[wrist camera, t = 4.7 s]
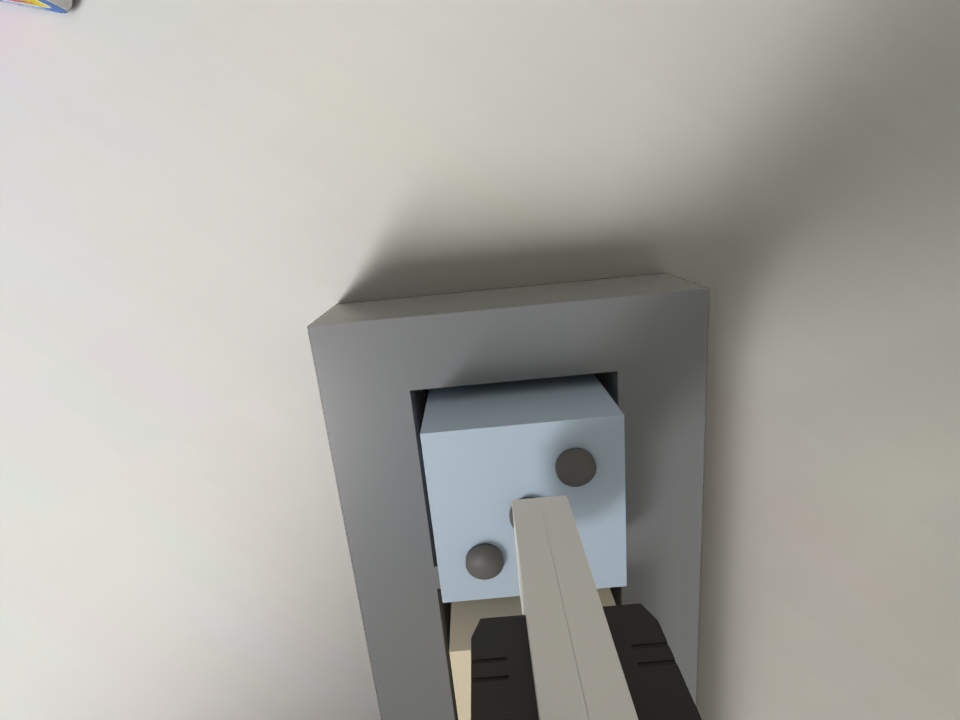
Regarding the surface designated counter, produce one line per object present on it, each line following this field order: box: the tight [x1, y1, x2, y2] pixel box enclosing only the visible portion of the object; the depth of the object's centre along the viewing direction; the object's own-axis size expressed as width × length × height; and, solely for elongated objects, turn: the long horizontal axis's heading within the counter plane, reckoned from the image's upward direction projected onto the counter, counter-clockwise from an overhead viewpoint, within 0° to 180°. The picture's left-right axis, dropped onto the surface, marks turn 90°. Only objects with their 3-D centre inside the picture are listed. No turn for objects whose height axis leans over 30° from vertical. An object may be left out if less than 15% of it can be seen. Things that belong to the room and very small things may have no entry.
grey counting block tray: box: [307, 273, 710, 720], centre depth 23 cm, size 13×28×4 cm, turn 5°
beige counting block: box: [449, 588, 616, 720], centre depth 20 cm, size 6×6×4 cm
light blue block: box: [420, 374, 627, 603], centre depth 18 cm, size 6×6×4 cm
